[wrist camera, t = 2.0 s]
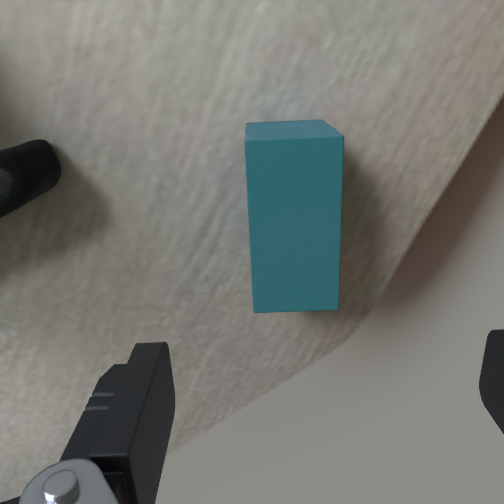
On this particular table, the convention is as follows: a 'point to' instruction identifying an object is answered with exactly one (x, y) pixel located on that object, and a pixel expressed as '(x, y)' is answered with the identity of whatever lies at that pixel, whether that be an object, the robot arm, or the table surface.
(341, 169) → the block
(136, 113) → the table surface
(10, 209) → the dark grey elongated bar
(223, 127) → the table surface
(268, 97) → the table surface
